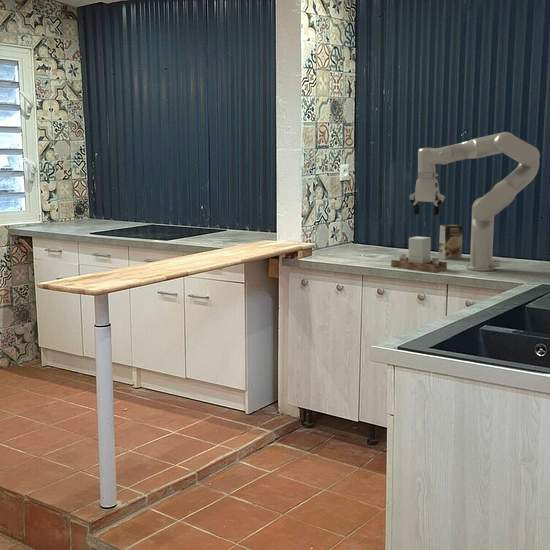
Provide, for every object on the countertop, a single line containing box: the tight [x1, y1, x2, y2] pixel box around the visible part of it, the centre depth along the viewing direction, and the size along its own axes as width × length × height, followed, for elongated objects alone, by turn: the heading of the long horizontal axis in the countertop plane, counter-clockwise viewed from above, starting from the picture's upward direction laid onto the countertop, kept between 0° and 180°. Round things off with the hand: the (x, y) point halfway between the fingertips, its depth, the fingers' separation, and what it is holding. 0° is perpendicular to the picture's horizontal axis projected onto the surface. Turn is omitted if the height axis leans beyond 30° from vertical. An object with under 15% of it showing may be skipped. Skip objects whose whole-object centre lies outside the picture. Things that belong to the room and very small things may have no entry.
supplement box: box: [408, 235, 432, 264], centre depth 351 cm, size 7×7×13 cm
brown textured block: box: [390, 253, 448, 273], centre depth 352 cm, size 22×11×5 cm, turn 48°
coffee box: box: [438, 224, 464, 260], centre depth 377 cm, size 9×6×16 cm
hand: (426, 214), depth 351 cm, fingers open, 9 cm apart
